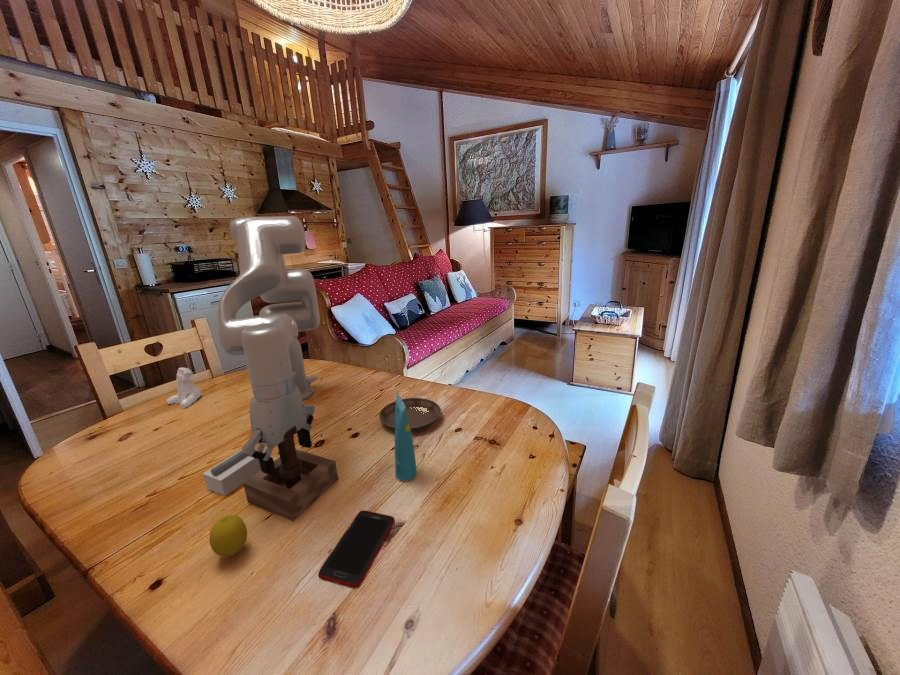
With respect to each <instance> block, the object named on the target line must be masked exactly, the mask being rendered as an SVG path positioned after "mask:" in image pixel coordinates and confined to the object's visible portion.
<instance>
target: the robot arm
mask: <svg viewBox="0 0 900 675" xmlns="http://www.w3.org/2000/svg"><path fill="white" fill-rule="evenodd" d="M229 232H230V234H231V237H232V238H233V240H234V242H235V243H236V244H237V252H238V254H237V255H238V266H239V275H238V276H237V277H236V278H235V279H234V280H233V281H232V282H231V283H230V284H229V285H228V286H227V288H226V289H225V291H224V292H223V293H222V296H221V297H220V299H219V302H218V305H217V306H218V308H217V326H218V337H219V343H220V346H221V348H222V350H223V351H224V352H225V353H227V354H228V355H231V356H243V355H244V359H245V363H246V367H247V372H248V377H249V381H250V385H251V389H252V394H253V397H251V398H250V400H249V419H250V427H251V433H252V434H251V436H250V437H249V438H248V440H246V442H245V444H244V445H243V446H242V448H241V449H242V450H243V451H244V452H245V453H246V454H248V456H250V457H253V458H256V459H259V463H260V467H261V471H262V472H263V473H265V474H269V475H272V476H274V475H275V474H276V469H275V465H274V461H275V460H274V458H273V457H272V456H271V455H272V454H273V451H274V447H276V446H278V444H279V443H281V442H282V441H284V435H285V433H286V432H287V431H288V430H290V429H291V428H293V427H294V426H296V428H297V433H296V435H297V439H298V440H297V441H298V445H299V446H300V447H302V448H303V447H304V448H307V449H310V448H312V447H313V444H312V439H311V432H310V431H311V430H312V423H313V421H314V418H315V416H314V414H315V409H316V407H315V405H311V404H305V403H304V401H305V400H306V399H307V400H308V399H309V398H310V397H311V396H312V395H313V394H314V388H313V386H311V385H312V383H314V382H316V381H317V380H318V376H317V375H316V374H314V375H312V376H310V377H309V376H308V375H306V368H305V362H304V357H303V350H302V345H301V343H300V342H299V340H298V338H299V337H298V336H299V332H308V331H312V330H317V328H319V326H320V323H321V316H320V309H319V303H318V296H317V294H318V293H317V288H316V283H315V279H314V276H313V274H312V273H311V272H310V271H309V270H307V269H305V268H304V269H303V268H298V269H297V268H296V269H287V268H286V265H285V264H286V263H285V257H284V255H291V254H302V253H303V252H304V251H305V249H306V244H307V243H306V242H307V240H306V233H305V228H304V226H303V223H302V221H301V220H300V218H299V217H297V216H294V215H293V216H292V215H290V216H289V215H288V216H287V215H285V216H280V215H279V216H246V217H245V216H244V217H238V218H235V219H233V220H232V221H230V223H229ZM258 297H260V299H261V300H262V301H263V302H265V303H269V305H266V306H264V307H263V308H261V309H260V311H259V315H254V316H246V317H244V316H243V317H237V318H236V316H237V314H238V312H239V311H240V309H242V307H244V305H245V304H247V303H249V302H250V301H252V300H253V299H256V298H258ZM256 446H257V448H256Z"/></svg>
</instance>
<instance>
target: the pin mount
mask: <svg viewBox="0 0 900 675" xmlns="http://www.w3.org/2000/svg"><path fill="white" fill-rule="evenodd" d="M260 471H261V467H260V463H259V459H256V458H253V457H250V456H248V454H246V453H245V452H244V451H243V450H242V448H241V449H240V450H238V451H236V452H235V453H233V454H232V455H231V456H229V457H227V458H226V459H224V460H223V461H220V462H219V463H217V464H216V465H214V466H213V467H211V468H209V469H208V470H206V471H204V472H203V473H202V475H203V479H204V483H205V486H206V489H207V490H210V491H212V492H214V493H217V494H219V495H222V496H224V497H226V496H227V495H228V494H230V493H231V492H233V491H234V490H235V489H237V488H239V487H240V486H241V485H243V483H244V482H246V481H247V480H248V479H250V478H251V477H253V476H254V475H255V474H257V473H258V472H260Z"/></svg>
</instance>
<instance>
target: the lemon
mask: <svg viewBox="0 0 900 675" xmlns="http://www.w3.org/2000/svg"><path fill="white" fill-rule="evenodd" d="M247 530H248V529H247V525H246V523H245V522H244V520H243V519H242V518H241V517H240V516H238V515H235V514H227V515H223V516H221V517H220V518H219V519H217V520H216V521H215V522H214V523H213V525H212V526H211V528H210V531H209V544H210V548H211V550H212V552H213V553H214V554H216V555H217V556H220V557H225V558H228V557H231V556H234V555H235V554H237V553H238V552H240V550H242V548H243V547H244V545H245V544H246V542H247V540H248V539H247V538H248V531H247Z"/></svg>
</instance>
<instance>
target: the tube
mask: <svg viewBox="0 0 900 675" xmlns="http://www.w3.org/2000/svg"><path fill="white" fill-rule="evenodd" d="M402 399H403V398H401V396H400V394H399V393H398V392H396V398H395V401H396V407H395V431H394V468H395V469H394V472H395V474H394V475H395V478H396V479H397V480H399V481H402V482H409V481H412V480H413V479H414V478H416V476H417V472H418V470H417V462H416V455H415V453H416V452H415V449H414V447H415V446H414V440H413V435H412V433H411V428H410V424H409V420H408V417H407V414H406V411H405V408H406V407H405V405H404V403H403V401H402Z"/></svg>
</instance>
